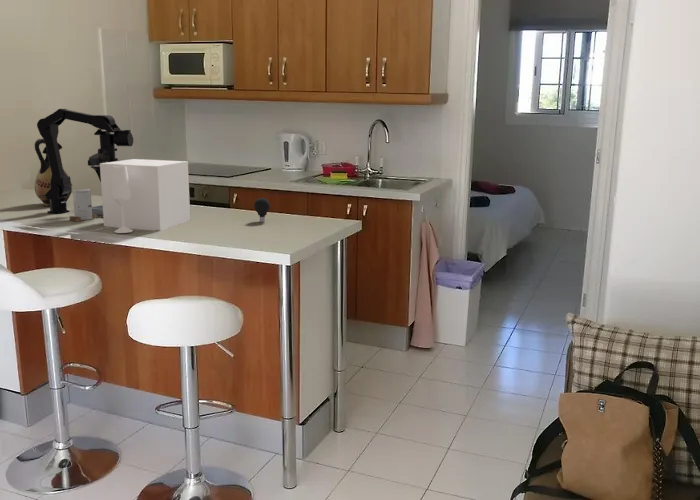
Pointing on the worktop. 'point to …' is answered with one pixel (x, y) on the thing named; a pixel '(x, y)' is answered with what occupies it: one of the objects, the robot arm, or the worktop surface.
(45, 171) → the ceramic jug
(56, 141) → the robot arm
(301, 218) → the worktop surface
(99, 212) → the slate tray
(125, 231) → the champagne flute
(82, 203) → the skincare box
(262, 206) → the light bulb
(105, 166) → the cube
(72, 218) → the brown wooden block
